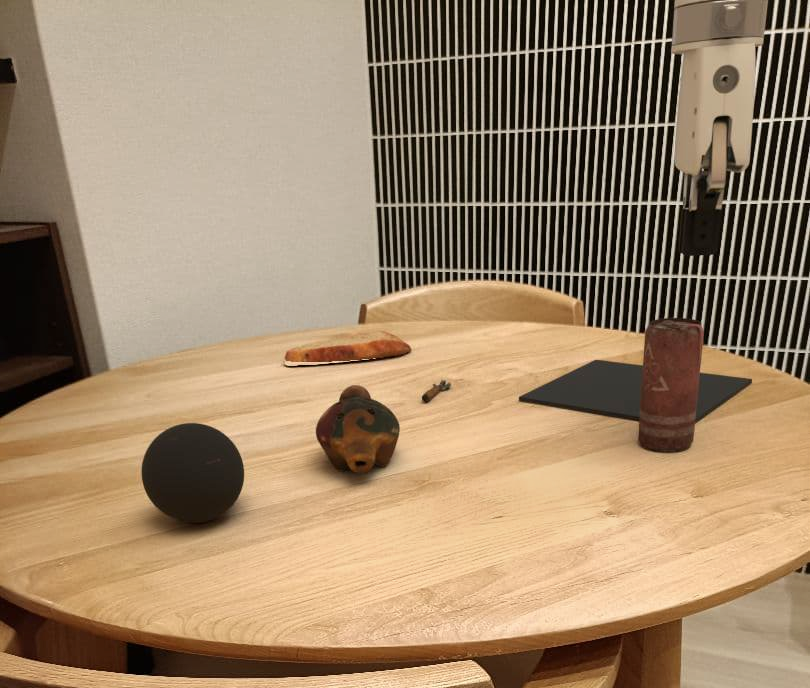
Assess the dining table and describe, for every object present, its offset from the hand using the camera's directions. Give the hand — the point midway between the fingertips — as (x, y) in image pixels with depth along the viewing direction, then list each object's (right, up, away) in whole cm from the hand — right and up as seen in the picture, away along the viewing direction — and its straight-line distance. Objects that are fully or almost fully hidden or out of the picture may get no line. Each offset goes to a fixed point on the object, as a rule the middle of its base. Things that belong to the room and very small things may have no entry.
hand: (697, 252), depth 79 cm
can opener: (-24, -7, +40) cm, 47 cm away
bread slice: (-38, +4, +62) cm, 73 cm away
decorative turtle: (-33, -19, +17) cm, 42 cm away
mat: (+4, -7, +35) cm, 36 cm away
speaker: (-49, -26, +6) cm, 56 cm away
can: (+2, -17, +16) cm, 23 cm away
